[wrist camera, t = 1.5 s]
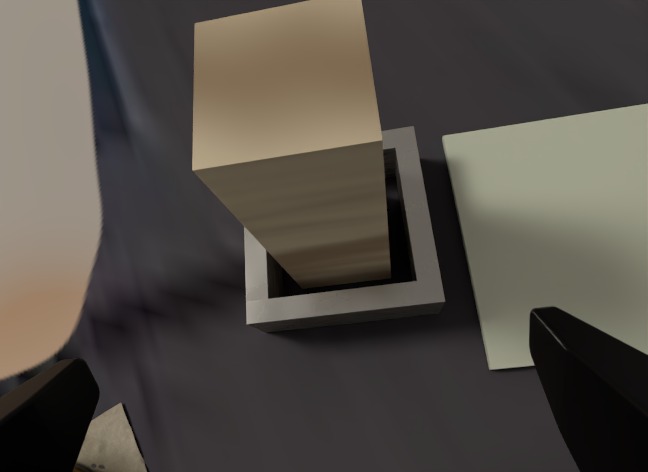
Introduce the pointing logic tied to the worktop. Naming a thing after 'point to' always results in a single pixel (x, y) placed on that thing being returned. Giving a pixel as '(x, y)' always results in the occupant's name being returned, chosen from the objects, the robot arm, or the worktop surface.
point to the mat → (555, 225)
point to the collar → (368, 302)
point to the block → (295, 137)
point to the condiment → (110, 445)
